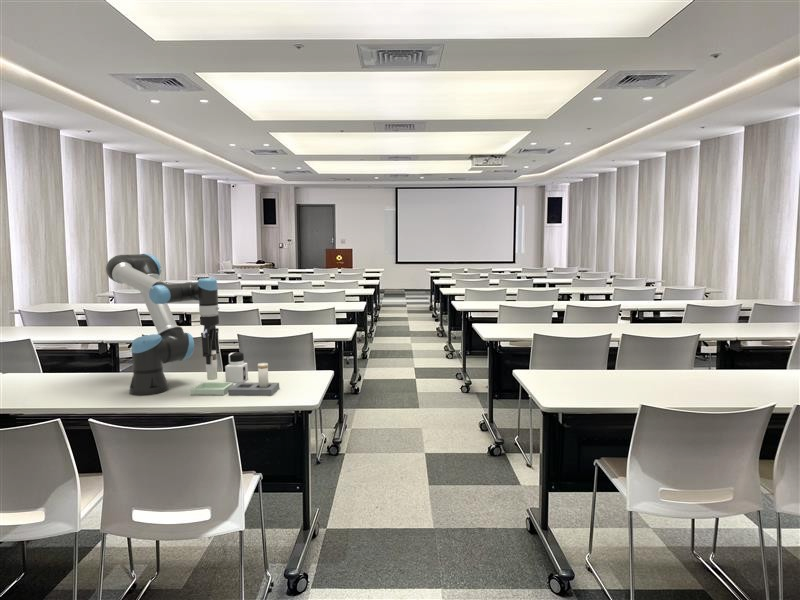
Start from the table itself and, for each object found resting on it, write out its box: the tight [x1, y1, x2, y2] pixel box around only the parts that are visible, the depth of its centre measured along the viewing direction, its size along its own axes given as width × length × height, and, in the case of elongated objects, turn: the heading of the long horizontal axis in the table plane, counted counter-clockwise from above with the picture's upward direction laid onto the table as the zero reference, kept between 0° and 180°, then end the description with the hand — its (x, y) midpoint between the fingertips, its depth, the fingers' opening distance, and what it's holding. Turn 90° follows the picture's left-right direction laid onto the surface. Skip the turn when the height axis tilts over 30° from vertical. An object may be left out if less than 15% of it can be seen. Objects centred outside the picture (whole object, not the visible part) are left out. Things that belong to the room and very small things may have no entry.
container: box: [224, 351, 249, 384], centre depth 263 cm, size 8×8×13 cm
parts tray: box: [189, 381, 235, 397], centre depth 245 cm, size 14×12×2 cm
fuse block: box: [227, 382, 280, 397], centre depth 244 cm, size 18×12×2 cm, turn 87°
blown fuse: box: [206, 350, 218, 381], centre depth 244 cm, size 4×4×12 cm
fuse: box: [257, 362, 269, 388], centre depth 244 cm, size 4×4×12 cm
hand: (211, 370), depth 244 cm, fingers closed on blown fuse, 4 cm apart
